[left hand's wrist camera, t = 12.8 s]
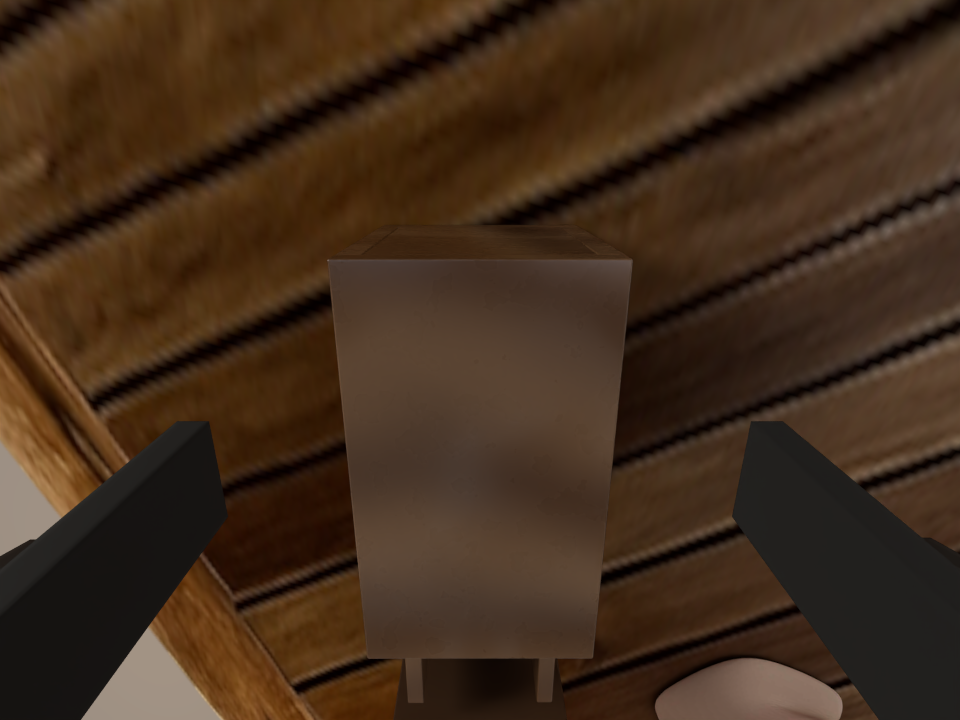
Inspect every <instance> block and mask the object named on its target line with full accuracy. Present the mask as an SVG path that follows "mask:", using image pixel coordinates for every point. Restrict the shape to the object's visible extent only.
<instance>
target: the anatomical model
mask: <svg viewBox="0 0 960 720" xmlns="http://www.w3.org/2000/svg"><path fill="white" fill-rule="evenodd" d="M842 708H843V706H842V700H841V698H840V696H839V695H838V694H837V693H836V692H835V691H834V690H833V689H832V688H830V687H829V686H827V685H826V684H824V683H822V682H820V681H819V680H817V679H815V678H813V677H811V676H808V675H806V674H804V673H802V672H799V671H797V670H795V669H792V668H790V667H787V666H784V665H781V664H778V663H775V662H771V661H767V660H762V659H756V658H739V659H732V660H728V661H724V662H721V663H718V664H715V665H712V666H709V667H707V668H704V669H702V670H700V671H698V672H696V673H694V674H692V675H690V676H688V677H686V678H684V679H682V680H680V681H679V682H677V683H675V684H674V685H672V686H671V687H669V688H668V689H666V690H665V691H664V692H663V693H662V694H661V695H660V696H659V697H658V699H657V700H656V703H655V709H656V713H657V716H658V719H659V720H839V719H840V716H841V713H842Z"/></svg>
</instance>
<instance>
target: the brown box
mask: <svg viewBox="0 0 960 720" xmlns="http://www.w3.org/2000/svg"><path fill="white" fill-rule="evenodd" d="M632 264H633V260H632V259H631V258H630V257H628V256H626V255H625V254H623V253H622V252H620V251H618V250H617V249H615V248H613V247H612V246H610V245H608V244H607V243H605V242H603V241H602V240H600V239H598V238H597V237H595V236H593V235H592V234H590V233H588V232H587V231H585V230H583V229H582V228H580V227H578V226H576V225H384V226H382V227H380V228H379V229H377V230H375V231H374V232H372V233H370V234H369V235H367V236H366V237H364V238H362V239H361V240H359V241H357V242H356V243H354V244H352V245H351V246H349V247H347V248H346V249H344V250H342V251H341V252H339V253H337V254H336V255H334V256H332V257H331V258H329V259H328V271H329V281H330V291H331V301H332V310H333V320H334V330H335V340H336V350H337V360H338V370H339V380H340V390H341V400H342V410H343V420H344V430H345V440H346V450H347V459H348V469H349V479H350V489H351V499H352V509H353V519H354V529H355V539H356V549H357V559H358V569H359V579H360V589H361V599H362V608H363V618H364V628H365V638H366V648H367V657H368V658H593V651H594V642H595V632H596V622H597V612H598V602H599V592H600V582H601V572H602V562H603V552H604V542H605V532H606V522H607V513H608V503H609V493H610V483H611V473H612V463H613V453H614V443H615V433H616V423H617V413H618V403H619V393H620V383H621V374H622V364H623V354H624V344H625V334H626V324H627V314H628V304H629V294H630V284H631V274H632Z"/></svg>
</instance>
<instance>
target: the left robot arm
mask: <svg viewBox="0 0 960 720" xmlns="http://www.w3.org/2000/svg"><path fill="white" fill-rule="evenodd" d="M227 517H228V515H227V510H226V505H225V500H224V495H223V490H222V485H221V480H220V475H219V470H218V465H217V460H216V455H215V450H214V445H213V440H212V435H211V430H210V425H209V421H177V422H176V423H175V424H174V425H172V426H171V427H170V428H169V429H168V430H166V431H165V432H164V433H163V434H162V435H160V436H159V437H158V438H157V439H156V440H154V441H153V442H152V443H151V444H150V445H148V446H147V447H146V448H145V449H144V450H143V451H141V452H140V453H139V454H138V455H137V456H135V457H134V458H133V459H132V460H131V461H129V462H128V463H127V464H126V465H125V466H123V467H122V468H121V469H120V470H119V471H117V472H116V473H115V474H114V475H113V476H111V477H110V478H109V479H108V480H107V481H105V482H104V483H103V484H102V485H101V486H100V487H98V488H97V489H96V490H95V491H94V492H92V493H91V494H90V495H89V496H88V497H86V498H85V499H84V500H83V501H82V502H80V503H79V504H78V505H77V506H76V507H74V508H73V509H72V510H71V511H70V512H68V513H67V514H66V515H65V516H64V517H62V518H61V519H60V520H59V521H58V522H57V523H55V524H54V525H53V526H52V527H51V528H49V529H48V530H47V531H46V532H45V533H43V534H42V535H41V536H40V537H39V538H37V539H36V540H29V541H27V542H25V543H23V544H21V545H20V546H18V547H16V548H14V549H12V550H11V551H9V552H7V553H5V554H3V555H2V556H0V720H81V719H82V717H83V716H84V715H85V713H86V712H87V711H88V709H89V708H90V706H91V705H92V704H93V702H94V701H95V700H96V698H97V697H98V695H99V694H100V693H101V691H102V690H103V688H104V687H105V686H106V684H107V683H108V682H109V680H110V679H111V677H112V676H113V675H114V673H115V672H116V670H117V669H118V668H119V666H120V665H121V664H122V662H123V661H124V659H125V658H126V657H127V655H128V654H129V652H130V651H131V650H132V648H133V647H134V646H135V644H136V643H137V641H138V640H139V639H140V637H141V636H142V635H143V633H144V632H145V630H146V629H147V628H148V626H149V625H150V623H151V622H152V621H153V619H154V618H155V617H156V615H157V614H158V612H159V611H160V610H161V608H162V607H163V606H164V604H165V603H166V601H167V600H168V599H169V597H170V596H171V594H172V593H173V592H174V590H175V589H176V588H177V586H178V585H179V583H180V582H181V581H182V579H183V578H184V576H185V575H186V574H187V572H188V571H189V570H190V568H191V567H192V565H193V564H194V563H195V561H196V560H197V559H198V557H199V556H200V554H201V553H202V552H203V550H204V549H205V547H206V546H207V545H208V543H209V542H210V541H211V539H212V538H213V536H214V535H215V534H216V532H217V531H218V529H219V528H220V527H221V525H222V524H223V523H224V521H225V520H226V518H227ZM732 517H733V518H734V520H735V521H736V523H737V524H738V525H739V527H740V528H741V529H742V531H743V532H744V534H745V535H746V536H747V538H748V539H749V541H750V542H751V543H752V545H753V546H754V547H755V549H756V550H757V552H758V553H759V554H760V556H761V557H762V559H763V560H764V561H765V563H766V564H767V565H768V567H769V568H770V570H771V571H772V572H773V574H774V575H775V576H776V578H777V579H778V581H779V582H780V583H781V585H782V586H783V588H784V589H785V590H786V592H787V593H788V594H789V596H790V597H791V599H792V600H793V601H794V603H795V604H796V606H797V607H798V608H799V610H800V611H801V612H802V614H803V615H804V617H805V618H806V619H807V621H808V622H809V623H810V625H811V626H812V628H813V629H814V630H815V632H816V633H817V635H818V636H819V637H820V639H821V640H822V641H823V643H824V644H825V646H826V647H827V648H828V650H829V651H830V653H831V654H832V655H833V657H834V658H835V659H836V661H837V662H838V664H839V665H840V666H841V668H842V669H843V670H844V672H845V673H846V675H847V676H848V677H849V679H850V680H851V682H852V683H853V684H854V686H855V687H856V688H857V690H858V691H859V693H860V694H861V695H862V697H863V698H864V700H865V701H866V702H867V704H868V705H869V706H870V708H871V709H872V711H873V712H874V713H875V715H876V716H877V717H878V719H879V720H960V554H959V553H957V552H955V551H953V550H952V549H950V548H948V547H946V546H944V545H943V544H941V543H939V542H937V541H935V540H933V539H932V538H921V537H920V536H919V535H918V534H917V533H915V532H914V531H913V530H912V529H911V528H909V527H908V526H907V525H906V524H905V523H903V522H902V521H901V520H900V519H899V518H898V517H896V516H895V515H894V514H893V513H892V512H890V511H889V510H888V509H887V508H886V507H884V506H883V505H882V504H881V503H880V502H878V501H877V500H876V499H875V498H874V497H872V496H871V495H870V494H869V493H868V492H866V491H865V490H864V489H863V488H862V487H860V486H859V485H858V484H857V483H856V482H855V481H853V480H852V479H851V478H850V477H849V476H847V475H846V474H845V473H844V472H843V471H841V470H840V469H839V468H838V467H837V466H835V465H834V464H833V463H832V462H831V461H829V460H828V459H827V458H826V457H825V456H823V455H822V454H821V453H820V452H819V451H817V450H816V449H815V448H814V447H813V446H812V445H810V444H809V443H808V442H807V441H806V440H804V439H803V438H802V437H801V436H800V435H798V434H797V433H796V432H795V431H794V430H792V429H791V428H790V427H789V426H788V425H786V424H785V423H784V422H783V421H751V425H750V430H749V435H748V440H747V445H746V450H745V455H744V460H743V465H742V470H741V475H740V480H739V485H738V490H737V495H736V500H735V505H734V510H733V515H732Z"/></svg>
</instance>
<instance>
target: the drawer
mask: <svg viewBox="0 0 960 720" xmlns="http://www.w3.org/2000/svg"><path fill="white" fill-rule="evenodd" d="M393 720H567V717H566V710H565V704H564V698H563V691H562V685H561V679H560V672H559V666H558V660H557V658H403V661H402V668H401V674H400V680H399V687H398V693H397V699H396V706H395V712H394V719H393Z"/></svg>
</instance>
